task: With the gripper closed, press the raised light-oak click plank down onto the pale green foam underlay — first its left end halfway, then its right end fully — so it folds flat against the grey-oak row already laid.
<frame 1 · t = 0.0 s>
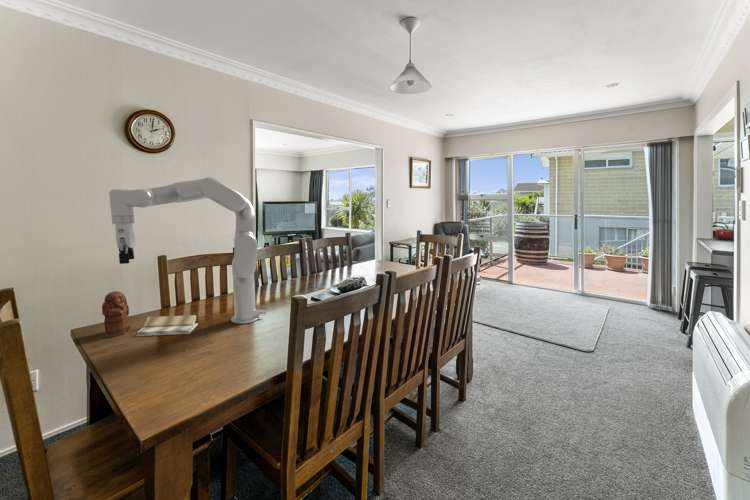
hand: (127, 261, 149), 31 cm above the table, fingers open, 9 cm apart
laid board: (168, 329, 158), resting on underlay
plank: (170, 321, 161), point 3 cm above the table, hinge at 32.0°
wooden figurine: (119, 332, 155), on the table
underlay: (168, 329, 158), on the table
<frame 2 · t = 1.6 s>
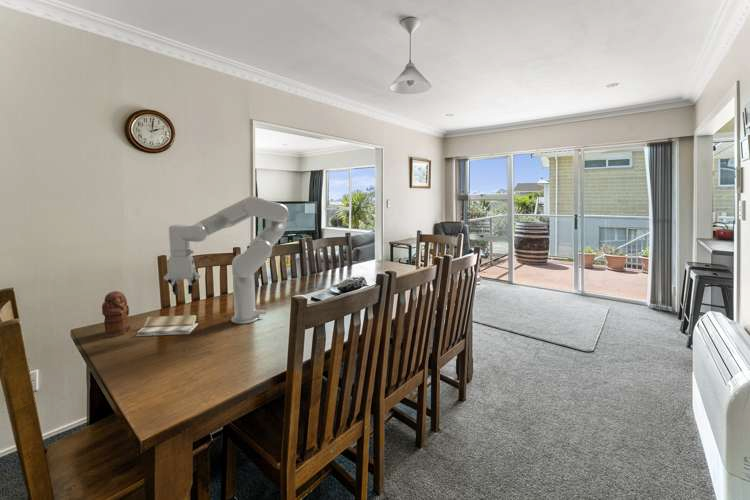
hand: (183, 293, 160), 15 cm above the table, fingers open, 5 cm apart
nothing on the table moved.
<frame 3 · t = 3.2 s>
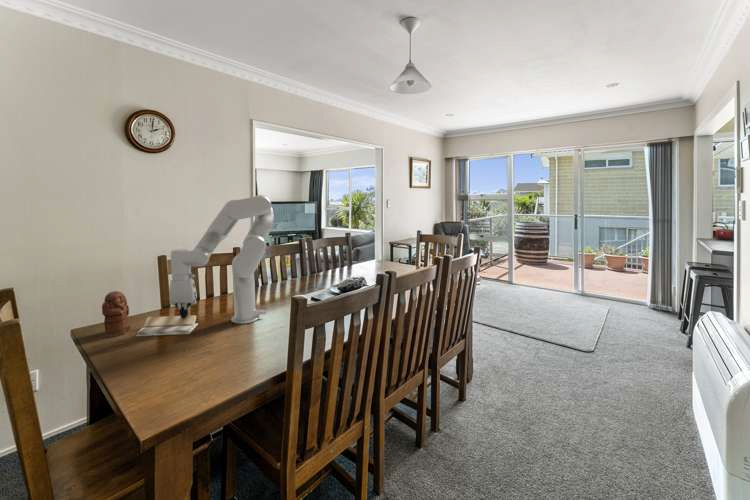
hand: (184, 317, 162), 4 cm above the table, fingers closed
plank: (170, 322, 161), point 3 cm above the table, hinge at 31.1°, touching gripper
everything else where it was.
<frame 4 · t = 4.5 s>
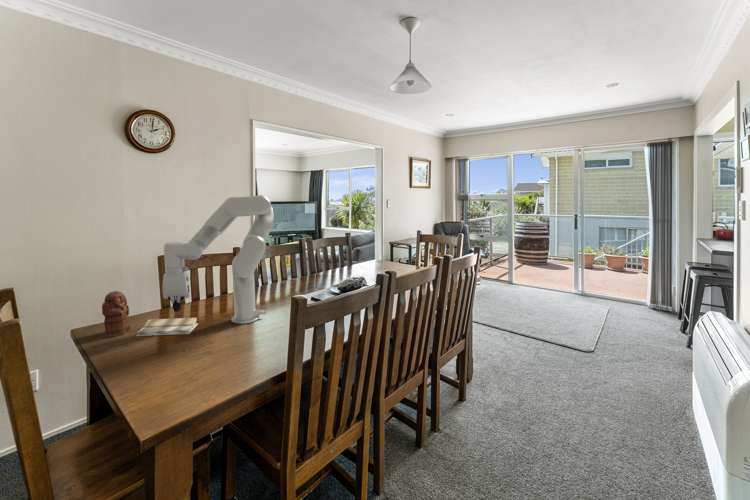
hand: (177, 310, 161), 8 cm above the table, fingers closed
plank: (170, 323, 161), point 2 cm above the table, hinge at 16.1°
everything else where it was.
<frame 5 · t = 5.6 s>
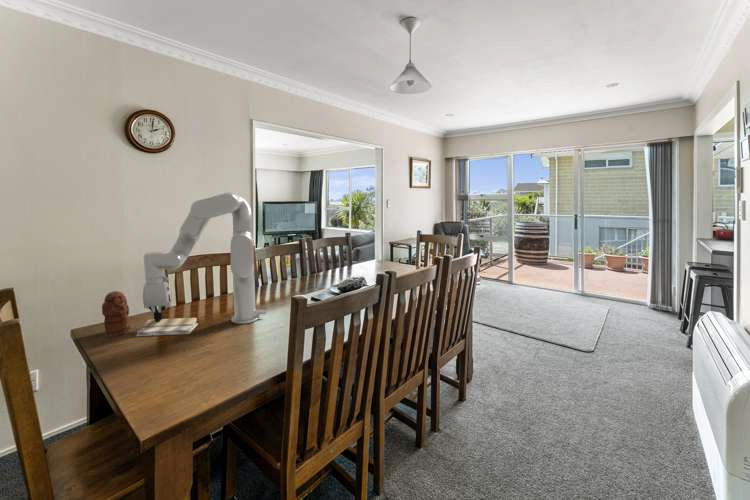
hand: (158, 320, 161), 3 cm above the table, fingers closed
plank: (170, 323, 161), point 2 cm above the table, hinge at 16.0°, touching gripper
everything else where it was.
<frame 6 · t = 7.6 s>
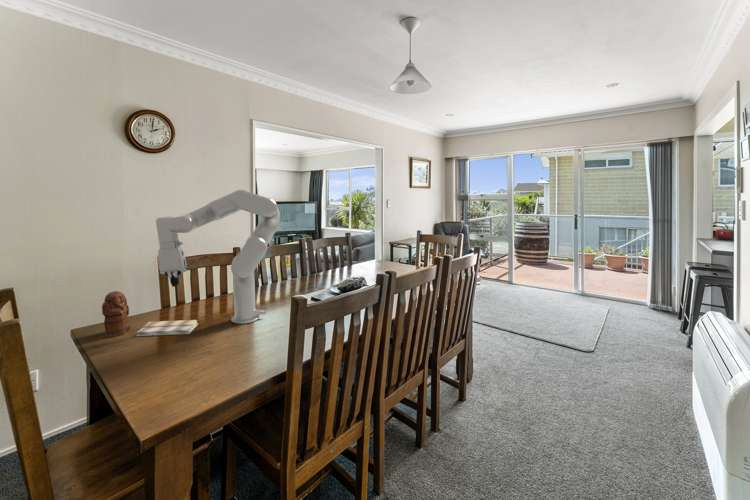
hand: (175, 285, 161), 19 cm above the table, fingers closed
plank: (170, 324, 161), point 1 cm above the table, hinge at 4.4°
everything else where it was.
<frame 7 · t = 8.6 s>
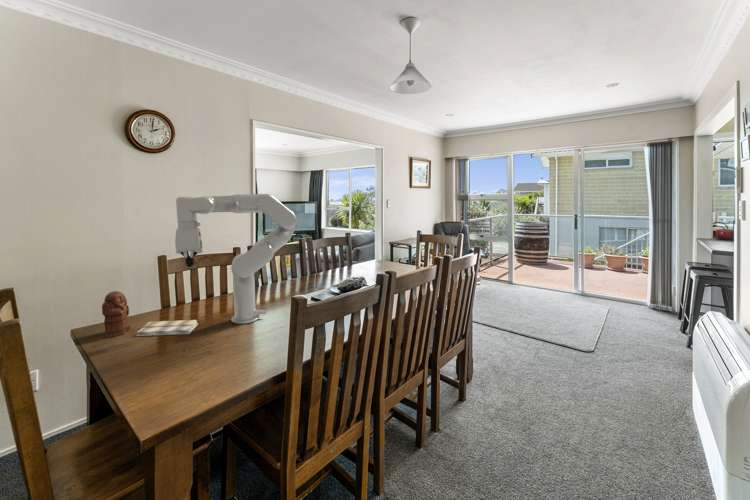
hand: (190, 266, 161), 27 cm above the table, fingers closed
nothing on the table moved.
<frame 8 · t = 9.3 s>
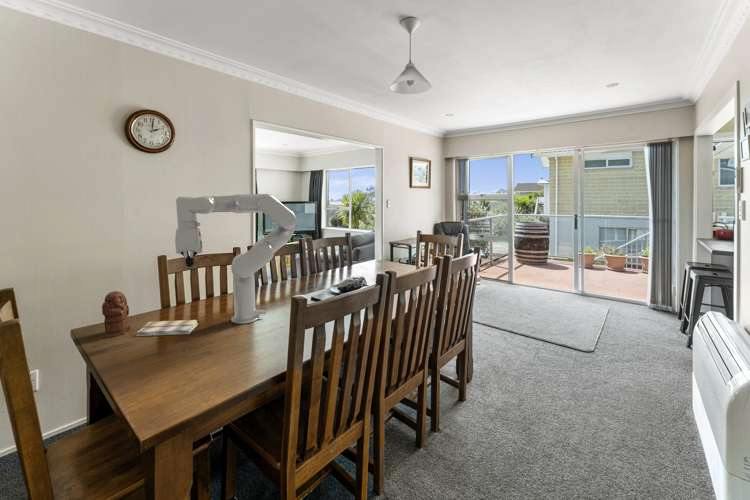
hand: (190, 266, 161), 27 cm above the table, fingers closed
nothing on the table moved.
at the end: plank at +4° (first picture: +32°) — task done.
